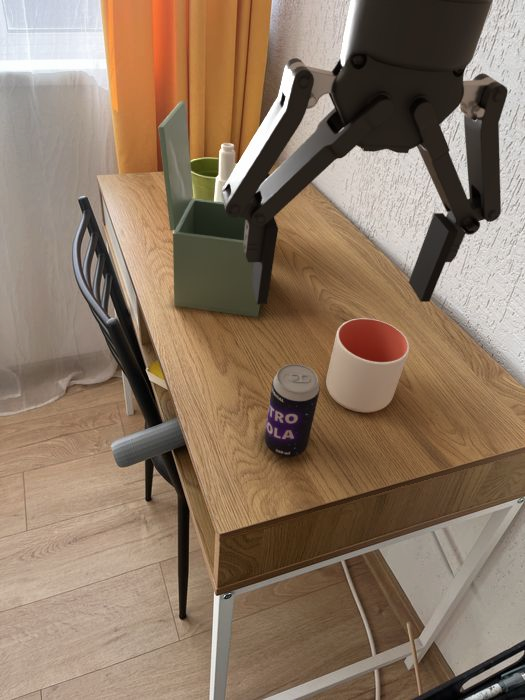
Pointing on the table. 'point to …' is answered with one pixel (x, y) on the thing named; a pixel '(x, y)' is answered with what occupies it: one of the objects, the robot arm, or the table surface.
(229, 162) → the cosmetic bottle
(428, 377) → the table surface
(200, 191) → the plant pot
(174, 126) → the lid
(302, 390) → the beverage can
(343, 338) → the cup
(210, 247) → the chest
